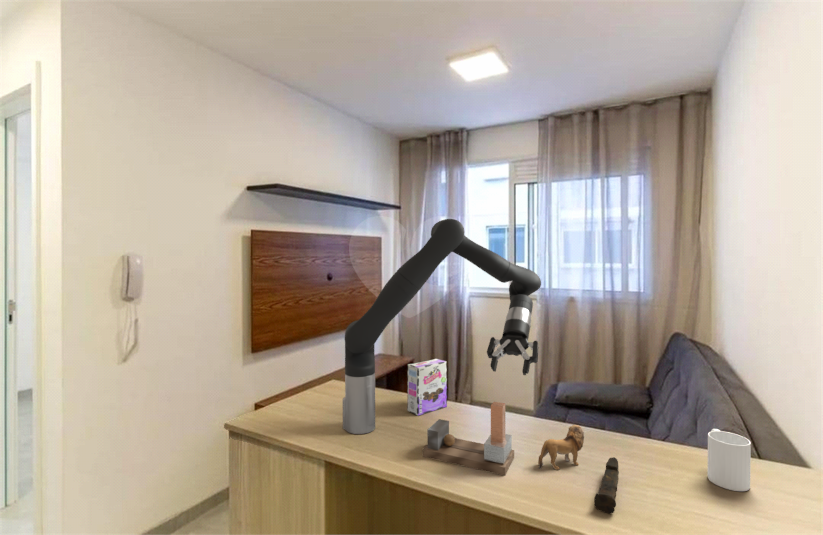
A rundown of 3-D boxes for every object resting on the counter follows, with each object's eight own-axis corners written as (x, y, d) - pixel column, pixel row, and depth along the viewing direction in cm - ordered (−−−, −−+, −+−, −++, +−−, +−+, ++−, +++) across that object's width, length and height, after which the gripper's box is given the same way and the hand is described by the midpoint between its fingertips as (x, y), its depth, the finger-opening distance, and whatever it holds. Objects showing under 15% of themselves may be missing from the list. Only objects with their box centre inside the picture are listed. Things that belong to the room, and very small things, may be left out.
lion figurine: (573, 453, 110) (573, 420, 109) (589, 462, 105) (590, 427, 105) (531, 466, 103) (531, 431, 103) (547, 476, 98) (547, 439, 98)
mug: (757, 494, 90) (758, 447, 90) (715, 489, 92) (716, 443, 92) (731, 467, 102) (732, 425, 102) (695, 463, 104) (695, 422, 104)
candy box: (417, 416, 136) (417, 367, 136) (406, 411, 141) (406, 363, 140) (447, 406, 145) (447, 360, 144) (436, 402, 149) (436, 357, 149)
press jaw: (484, 459, 102) (484, 407, 102) (492, 446, 109) (492, 398, 109) (504, 464, 100) (504, 411, 99) (511, 450, 107) (511, 400, 106)
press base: (422, 456, 108) (422, 430, 108) (437, 441, 117) (437, 417, 117) (505, 475, 99) (505, 447, 98) (514, 457, 107) (514, 431, 107)
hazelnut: (441, 446, 110) (441, 435, 110) (446, 442, 112) (446, 431, 112) (452, 448, 108) (452, 437, 108) (456, 444, 111) (456, 433, 111)
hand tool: (615, 517, 83) (615, 494, 83) (593, 510, 85) (594, 488, 85) (627, 476, 98) (627, 457, 98) (608, 471, 101) (609, 453, 101)
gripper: (492, 316, 125) (481, 362, 115) (540, 319, 119) (533, 367, 109) (496, 330, 130) (486, 375, 120) (543, 334, 124) (536, 382, 114)
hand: (508, 371), depth 114 cm, fingers open, 8 cm apart
